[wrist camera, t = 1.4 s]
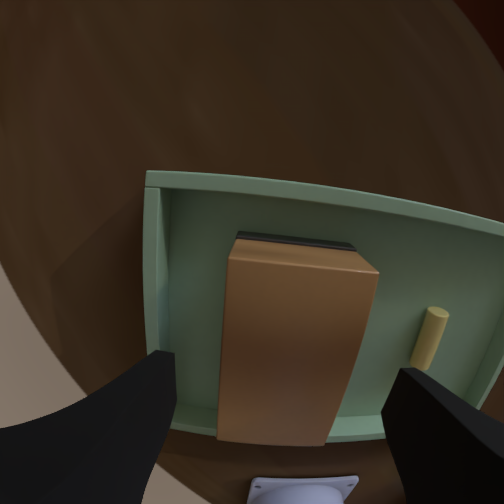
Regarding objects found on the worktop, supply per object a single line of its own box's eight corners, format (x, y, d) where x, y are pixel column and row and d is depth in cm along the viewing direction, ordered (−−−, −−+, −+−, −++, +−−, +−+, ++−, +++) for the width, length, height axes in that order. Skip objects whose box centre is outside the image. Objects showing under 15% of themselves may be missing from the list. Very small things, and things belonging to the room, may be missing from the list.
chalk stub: (404, 362, 13) (417, 356, 13) (420, 373, 12) (433, 366, 12) (422, 308, 12) (435, 304, 12) (442, 318, 11) (453, 313, 11)
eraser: (314, 397, 14) (323, 448, 10) (225, 390, 14) (215, 441, 10) (350, 242, 12) (381, 269, 8) (238, 230, 12) (227, 253, 8)
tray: (459, 403, 14) (472, 421, 12) (166, 400, 15) (156, 425, 13) (521, 228, 11) (545, 236, 9) (164, 170, 12) (145, 170, 10)
